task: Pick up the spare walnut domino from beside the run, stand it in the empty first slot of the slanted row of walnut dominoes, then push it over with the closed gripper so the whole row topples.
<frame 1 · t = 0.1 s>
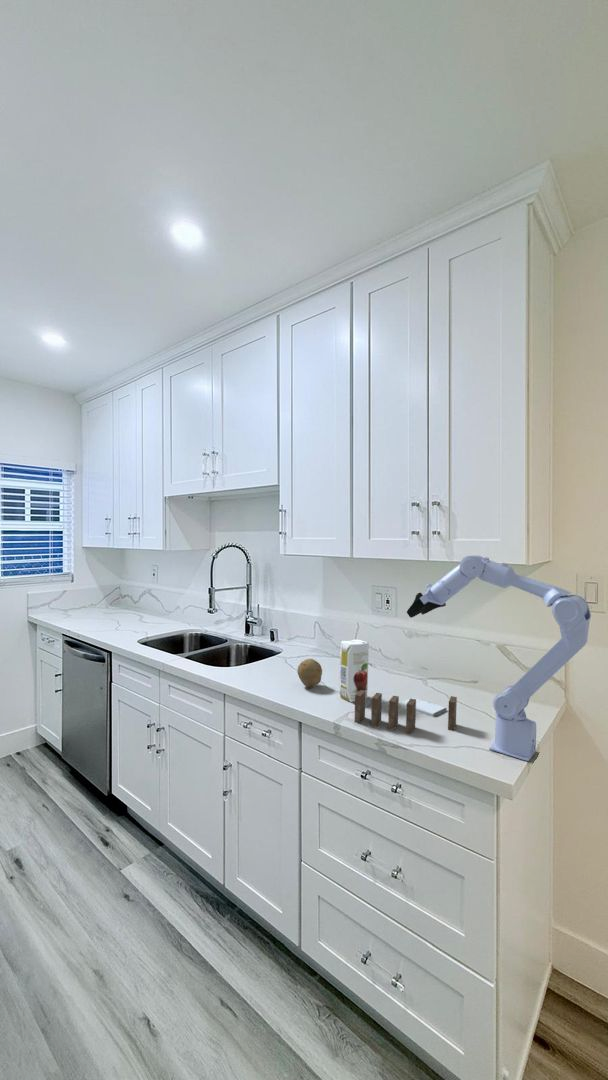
hand: (414, 613, 138), 32 cm above the worktop, tool tilted 50°, fingers open, 7 cm apart
domino 1: (451, 726, 135), on the worktop
brown round lump: (309, 687, 167), on the worktop
juice carton: (353, 698, 156), on the worktop
domino 4: (376, 723, 136), on the worktop
domino 3: (393, 726, 134), on the worktop
external hard drive: (422, 710, 149), on the worktop
domino 5: (359, 719, 138), on the worktop
domino 2: (410, 729, 132), on the worktop
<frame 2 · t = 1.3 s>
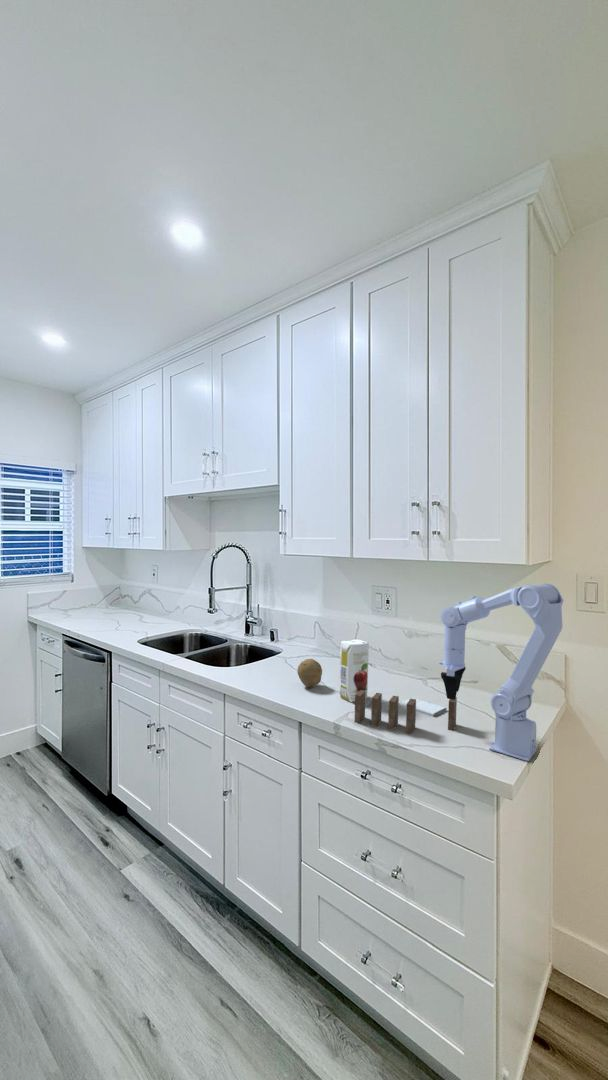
hand: (452, 694, 135), 9 cm above the worktop, tool pointing down, fingers open, 7 cm apart
nothing on the worktop moved.
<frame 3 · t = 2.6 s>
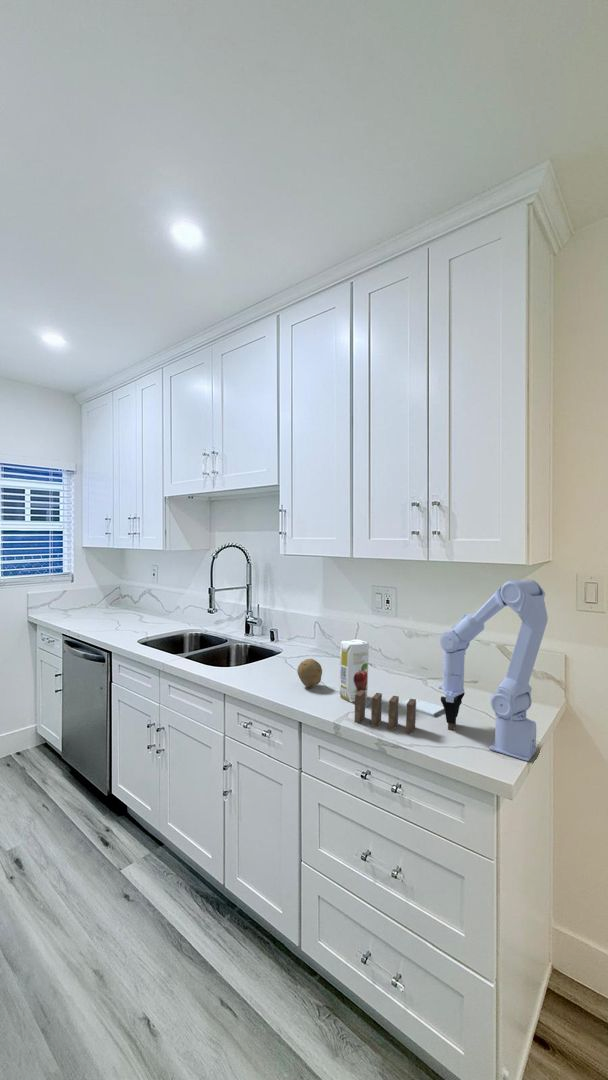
hand: (452, 719, 135), 2 cm above the worktop, tool pointing down, fingers closed on domino 1, 5 cm apart
domino 1: (451, 726, 135), on the worktop, touching gripper
everything else where it was.
when the fingers open (3 cm above the worktop, at t = 6.2 s): domino 1 stays where it is, on the worktop.
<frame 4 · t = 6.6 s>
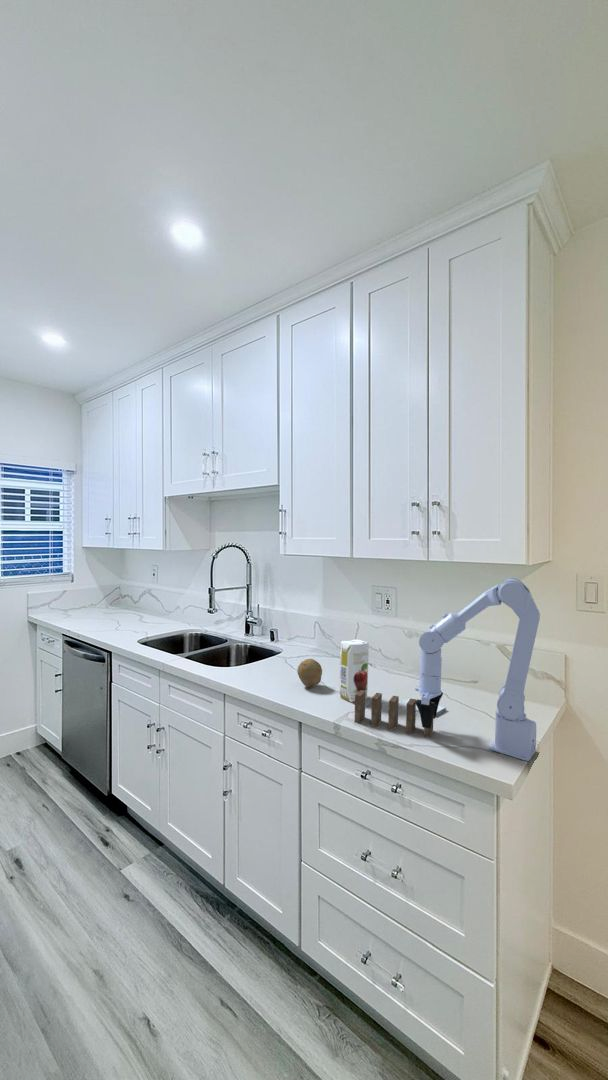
hand: (429, 722, 130), 3 cm above the worktop, tool pointing down, fingers open, 7 cm apart
domino 1: (428, 733, 130), on the worktop
everything else where it was.
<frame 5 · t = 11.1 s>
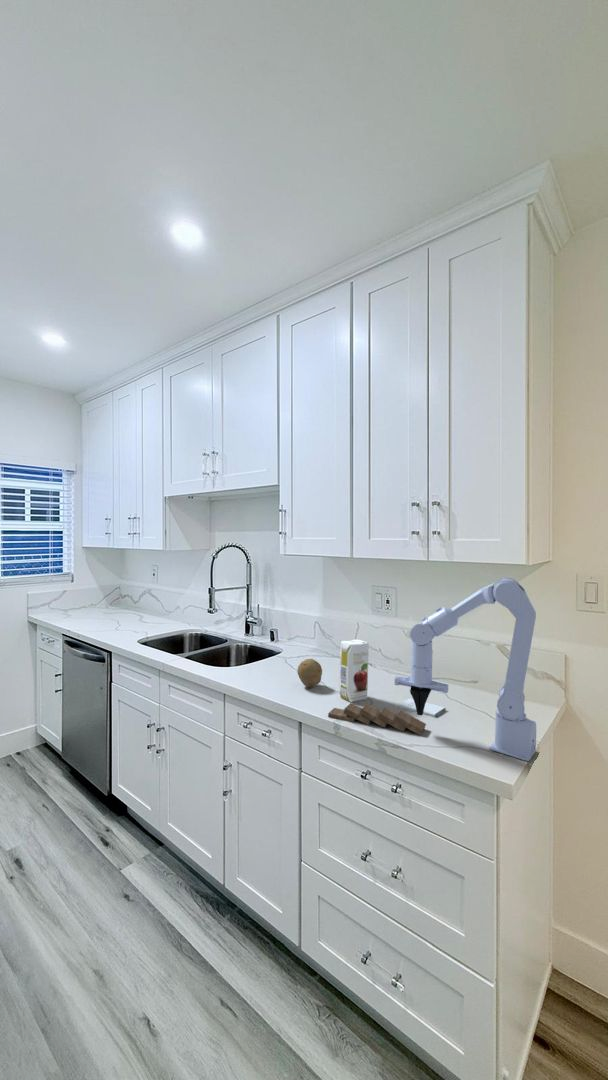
hand: (420, 714, 131), 5 cm above the worktop, tool pointing down, fingers closed
domino 1: (423, 729, 130), point 1 cm above the worktop, tilted 71°, touching domino 2
domino 4: (371, 719, 137), point 1 cm above the worktop, tilted 77°, touching domino 3, domino 5
domino 3: (387, 722, 135), point 1 cm above the worktop, tilted 70°, touching domino 2, domino 4
domino 5: (356, 718, 138), on the worktop, tilted 90°, touching domino 4
domino 2: (406, 726, 132), point 1 cm above the worktop, tilted 71°, touching domino 1, domino 3
everything else where it was.
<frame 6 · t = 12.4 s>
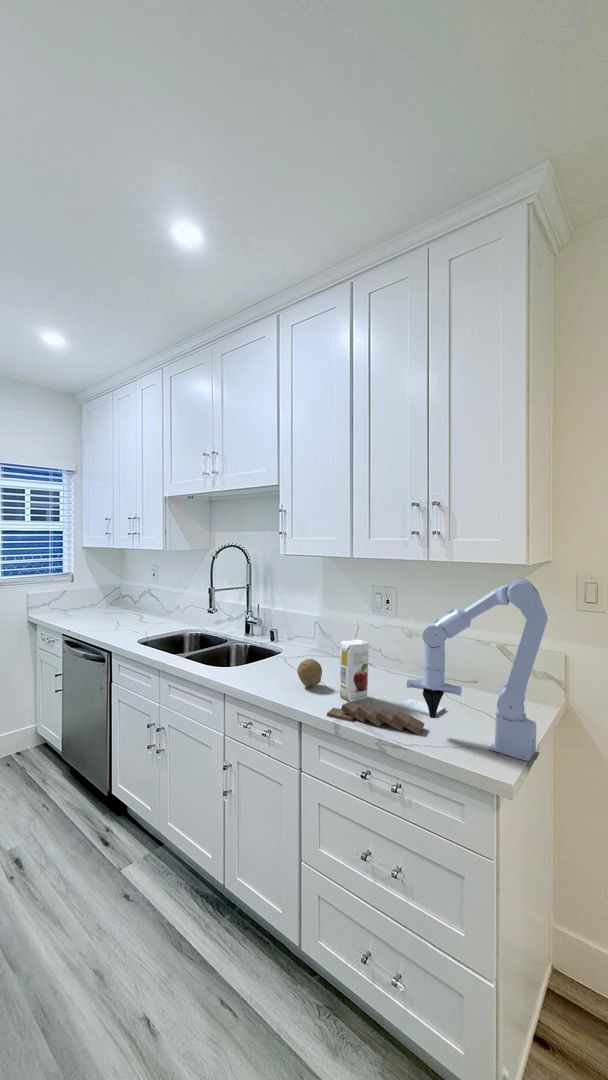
hand: (433, 716, 129), 5 cm above the worktop, tool pointing down, fingers closed
domino 4: (368, 717, 137), point 1 cm above the worktop, tilted 78°, touching domino 3
domino 3: (384, 722, 135), point 1 cm above the worktop, tilted 70°, touching domino 2, domino 4
domino 5: (354, 718, 139), on the worktop, tilted 90°
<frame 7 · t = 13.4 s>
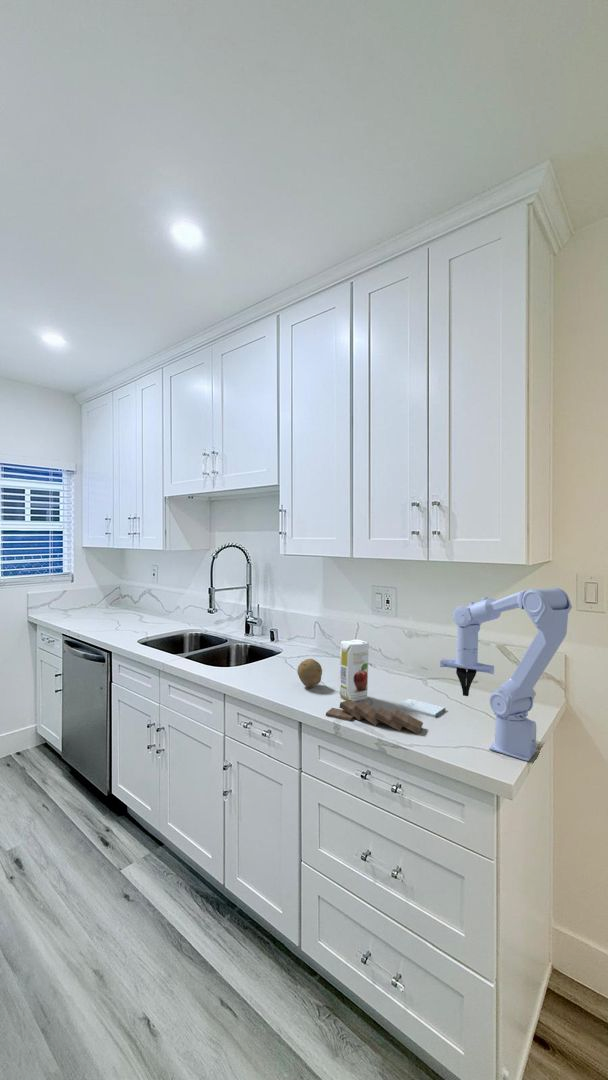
hand: (465, 695, 134), 9 cm above the worktop, tool pointing down, fingers closed
domino 4: (365, 715, 138), point 1 cm above the worktop, tilted 79°
domino 3: (380, 721, 135), point 1 cm above the worktop, tilted 69°
domino 2: (403, 725, 133), point 1 cm above the worktop, tilted 72°, touching domino 1
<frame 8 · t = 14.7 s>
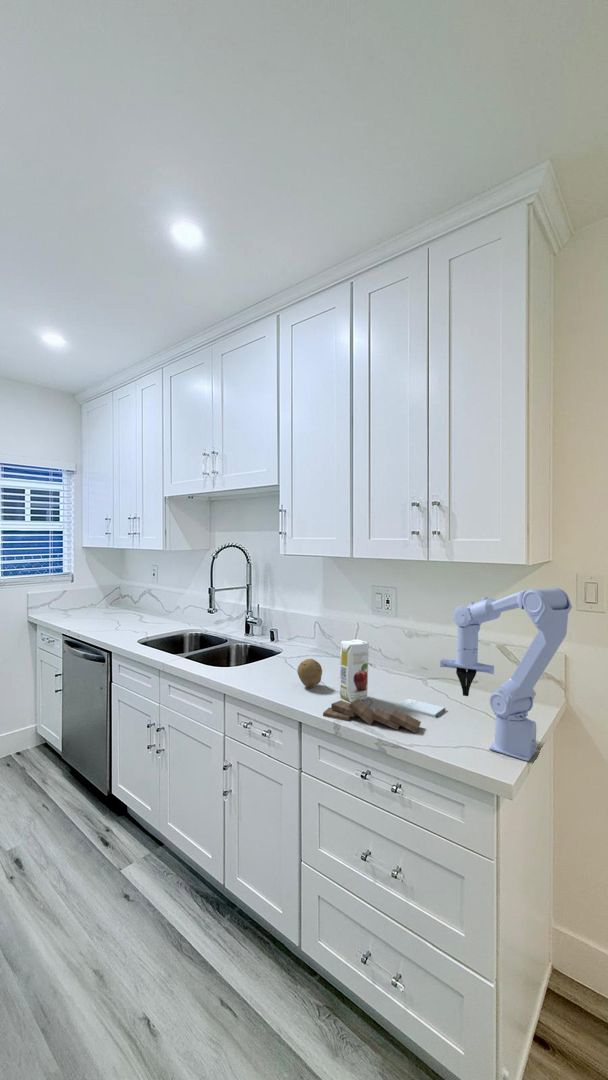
hand: (465, 695, 134), 9 cm above the worktop, tool pointing down, fingers closed
domino 4: (357, 712, 139), point 2 cm above the worktop, tilted 88°, touching domino 3, domino 5
domino 3: (375, 720, 136), point 1 cm above the worktop, tilted 64°, touching domino 4
domino 5: (351, 717, 139), on the worktop, tilted 90°, touching domino 4
at the end: domino 5 tilted 90°; domino 1 tilted 72° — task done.
